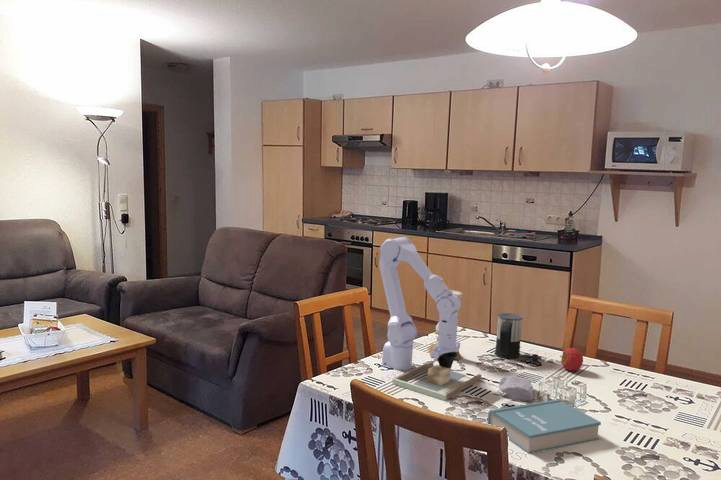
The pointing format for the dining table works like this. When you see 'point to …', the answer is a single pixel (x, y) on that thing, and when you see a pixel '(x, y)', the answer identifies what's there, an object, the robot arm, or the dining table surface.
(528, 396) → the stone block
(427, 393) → the box
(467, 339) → the dining table surface
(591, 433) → the book
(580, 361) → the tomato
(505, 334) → the milk frother
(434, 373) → the maple block
